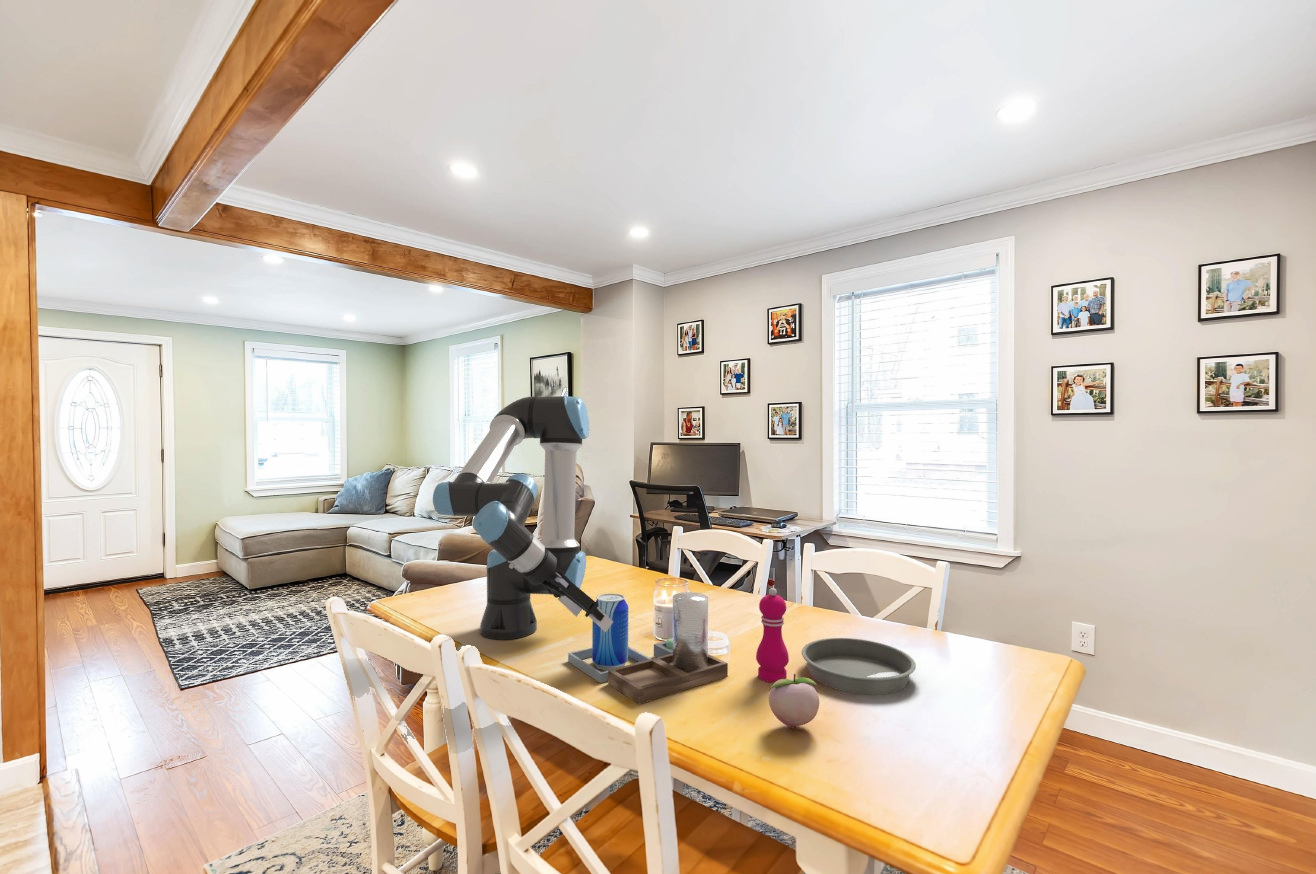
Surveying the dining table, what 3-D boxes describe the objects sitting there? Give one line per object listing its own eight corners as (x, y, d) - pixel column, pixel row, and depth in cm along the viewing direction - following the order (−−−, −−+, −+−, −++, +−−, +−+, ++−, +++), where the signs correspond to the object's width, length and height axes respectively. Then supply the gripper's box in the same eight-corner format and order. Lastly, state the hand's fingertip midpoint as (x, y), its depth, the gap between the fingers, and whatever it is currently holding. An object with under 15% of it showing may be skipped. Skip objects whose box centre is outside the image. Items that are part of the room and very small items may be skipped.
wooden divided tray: (608, 684, 131) (608, 670, 131) (693, 660, 145) (693, 647, 145) (639, 704, 121) (639, 689, 121) (727, 676, 136) (727, 663, 136)
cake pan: (794, 688, 130) (795, 667, 130) (807, 650, 153) (807, 632, 153) (919, 707, 122) (919, 684, 121) (912, 663, 145) (912, 644, 145)
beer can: (622, 673, 137) (623, 603, 137) (587, 670, 139) (587, 600, 139) (631, 659, 145) (632, 593, 145) (598, 657, 147) (598, 591, 147)
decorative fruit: (787, 744, 106) (787, 687, 106) (761, 723, 114) (761, 670, 114) (830, 733, 110) (830, 679, 110) (802, 714, 117) (802, 663, 117)
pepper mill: (791, 674, 137) (792, 586, 137) (784, 686, 131) (785, 593, 130) (760, 668, 140) (761, 582, 140) (752, 680, 134) (752, 590, 133)
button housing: (653, 656, 148) (653, 644, 148) (676, 650, 152) (676, 638, 152) (670, 665, 142) (671, 652, 142) (693, 659, 146) (694, 646, 146)
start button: (663, 656, 147) (663, 640, 147) (675, 653, 149) (675, 637, 149) (672, 661, 144) (672, 644, 144) (684, 657, 146) (684, 641, 146)
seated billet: (665, 665, 138) (665, 595, 138) (692, 658, 142) (692, 590, 142) (687, 677, 131) (687, 604, 131) (715, 669, 136) (715, 598, 136)
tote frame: (568, 661, 144) (568, 653, 144) (618, 649, 152) (618, 641, 152) (600, 683, 132) (600, 674, 132) (653, 668, 140) (653, 659, 140)
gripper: (499, 563, 138) (558, 618, 147) (546, 586, 118) (611, 648, 126) (521, 538, 141) (578, 593, 150) (571, 556, 121) (633, 619, 129)
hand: (593, 618), depth 138 cm, fingers open, 13 cm apart
